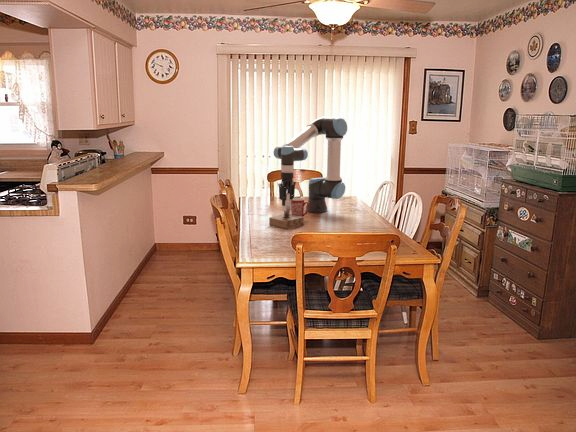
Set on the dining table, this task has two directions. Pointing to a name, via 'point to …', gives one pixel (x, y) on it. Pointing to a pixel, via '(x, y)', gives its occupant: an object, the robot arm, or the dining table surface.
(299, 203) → the mug
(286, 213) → the pin
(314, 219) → the dining table surface
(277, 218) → the bore block
